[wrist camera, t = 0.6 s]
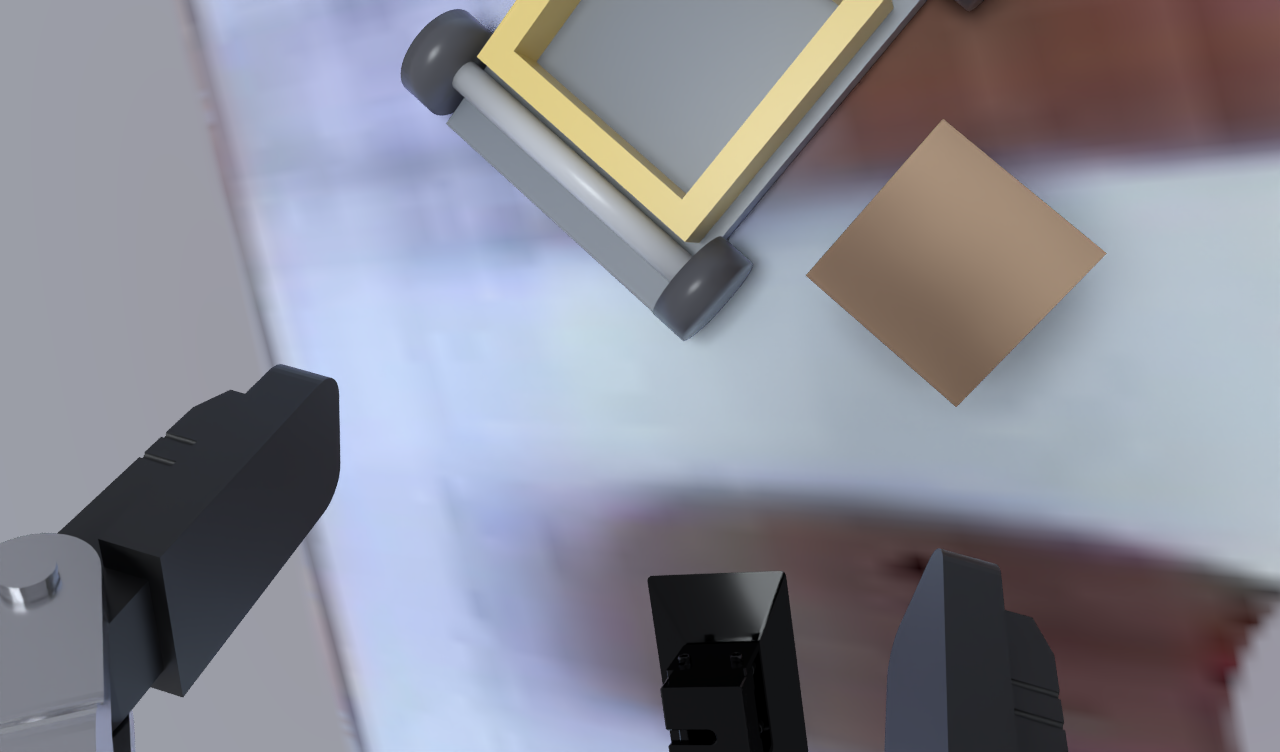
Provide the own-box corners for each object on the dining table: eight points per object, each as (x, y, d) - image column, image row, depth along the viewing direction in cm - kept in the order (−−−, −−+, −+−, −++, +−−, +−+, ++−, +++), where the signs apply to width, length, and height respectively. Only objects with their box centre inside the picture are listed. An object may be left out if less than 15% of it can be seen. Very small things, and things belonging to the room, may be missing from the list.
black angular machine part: (626, 533, 39) (585, 566, 35) (811, 521, 37) (792, 555, 33) (669, 835, 40) (634, 904, 36) (852, 841, 38) (839, 916, 34)
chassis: (728, -324, 34) (703, -389, 31) (1050, -76, 32) (1062, -117, 29) (431, 102, 39) (381, 87, 36) (693, 341, 37) (667, 349, 34)
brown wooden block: (945, 159, 34) (943, 119, 24) (1062, 256, 33) (1106, 253, 24) (845, 272, 35) (805, 275, 26) (955, 367, 34) (956, 407, 25)
